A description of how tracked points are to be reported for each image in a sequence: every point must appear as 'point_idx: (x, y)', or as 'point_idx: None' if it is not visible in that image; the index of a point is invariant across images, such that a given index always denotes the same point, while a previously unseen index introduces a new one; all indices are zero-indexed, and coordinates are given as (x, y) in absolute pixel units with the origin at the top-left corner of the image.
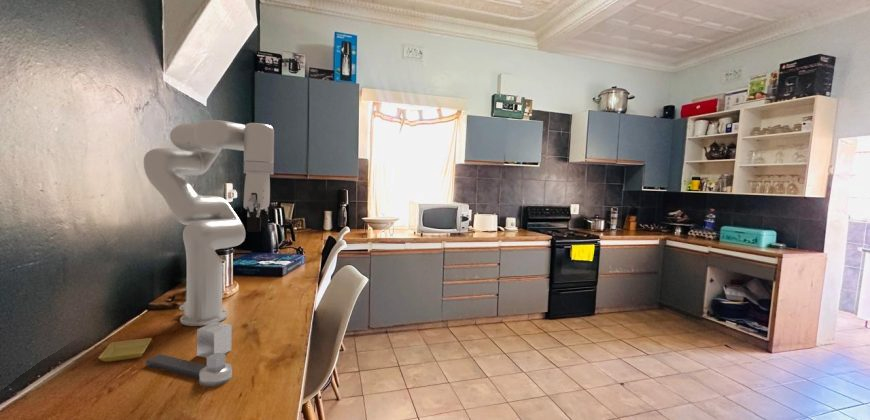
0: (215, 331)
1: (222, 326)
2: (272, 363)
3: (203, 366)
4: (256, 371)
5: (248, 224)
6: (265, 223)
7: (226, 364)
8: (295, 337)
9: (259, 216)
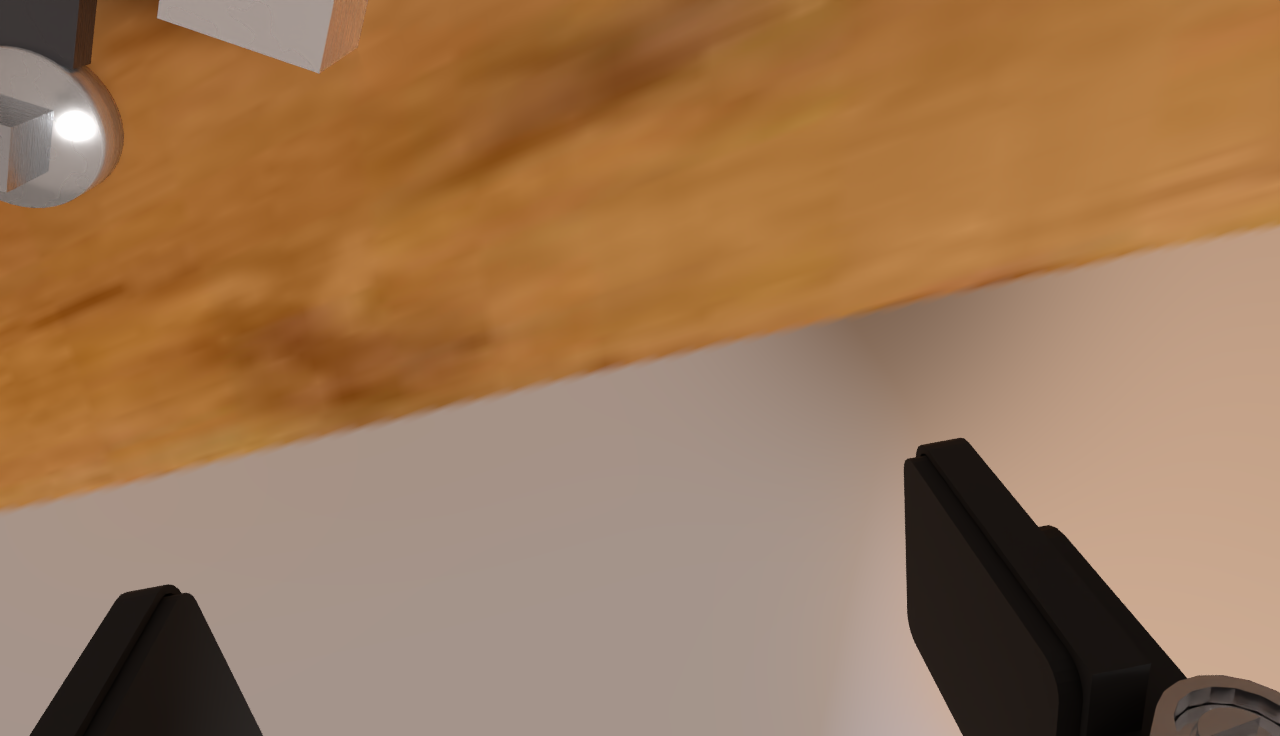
0: (179, 15)
1: (274, 20)
2: (259, 329)
3: (57, 23)
4: (165, 286)
5: (59, 729)
6: (935, 660)
7: (84, 159)
8: (572, 341)
9: (1022, 687)
